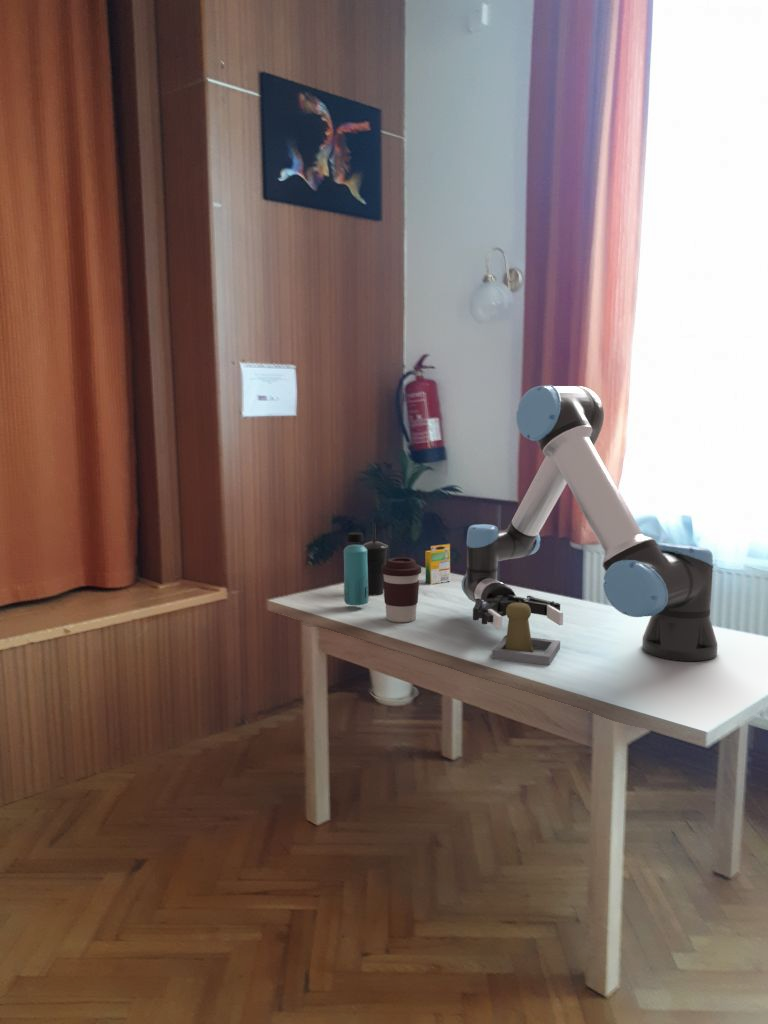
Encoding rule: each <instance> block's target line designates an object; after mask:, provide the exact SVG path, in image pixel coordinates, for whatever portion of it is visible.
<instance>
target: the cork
mask: <svg viewBox="0 0 768 1024" xmlns="http://www.w3.org/2000/svg"><path fill="white" fill-rule="evenodd" d="M506 614H507V615H506V617H507V618H508V624H507V630H506V635H507V637H506V645H505V649H506V650H515V651H523V652H532V653H534V650H533V649H534V648H532V642H531V638H532V636H531V629H530V628H531V627H530V623H529V622H530V621H529V618H530V617H531V614H532V613H531V609H530V607H529V605H527V604H525V603H511V604H509V605H508V606H507V608H506Z"/></svg>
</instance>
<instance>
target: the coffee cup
mask: <svg viewBox="0 0 768 1024" xmlns="http://www.w3.org/2000/svg"><path fill="white" fill-rule="evenodd" d="M381 573H382V574H384V580H383V587H384V590H383V597H384V598H383V599H384V604H385V614H386V620H388V621H390V622H391V623H409V622H414V621H415V619H416V618H417V607H418V606H417V604H418V602H419V591H420V590H419V587H420V579H419V575H420V574H421V573H422V566H421V565H420V564H417V562H416V560H415V559H413V558H410V557H391V558H389V559H386V564H384V565H382V566H381Z"/></svg>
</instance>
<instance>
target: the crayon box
mask: <svg viewBox="0 0 768 1024" xmlns="http://www.w3.org/2000/svg"><path fill="white" fill-rule="evenodd" d="M437 548H438V549H437ZM439 548H440V549H439ZM441 548H442V549H441ZM424 552H425V553H424V554H425V556H424V558H425V583H426V584H427V583H428V585H430V584H432V585H436V583H437V584H442V583H441V582H443V583H448V582H447V581H450V582H451V543H446V544H437V545H431V546H430V550H425V551H424Z"/></svg>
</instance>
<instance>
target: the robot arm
mask: <svg viewBox="0 0 768 1024" xmlns="http://www.w3.org/2000/svg"><path fill="white" fill-rule="evenodd" d="M517 407H518V408H517V411H516V417H515V418H516V420H515V421H516V425H517V428H518V431H519V433H520V434H521V435H522V436H523V437H524V438H526V439H528V440H530V441H533V442H536V443H537V444H538V446H539V448H540V450H541V452H542V454H543V455H544V456H545V457H544V459H543V461H542V463H541V464H540V466H539V469H538V471H537V472H536V474H535V476H534V477H533V480H532V481H531V483H530V485H529V487H528V489H527V491H526V493H525V494H524V496H523V499H522V500H521V503H520V504H519V506H518V508H517V509H516V512H515V513H514V516H513V518H512V519H511V521H510V523H509V524H508V527H507V528H506V529H502V530H499V529H498V526H496V525H494V524H487V523H486V524H485V523H482V524H472V525H469V527H468V529H467V534H466V541H465V542H466V573H465V574H464V576H463V577H462V580H461V590H462V591H463V593H464V594H465V596H466V597H467V598H468V600H470V601H471V602H474V606H473V608H472V621H478V620H479V619H481V624H482V625H487V624H488V623H489V624H491V625H492V626H493V627H495V628H496V629H497V630H503V617H505V616H506V617H507V614H506V608H507V606H508V605H509V604H511V603H525V604H527V605H529V607H530V609H531V614H534V615H542V616H545V617H546V618H547V619H548V620H550V621H552V622H553V623H555V624H556V625H558V626H563V625H564V612H563V611H561V603H559V602H555V601H553V600H552V601H550V600H545V599H542V598H537V597H534V596H533V595H526V597H521V596H517V595H516V594H515V591H514V590H513V589H512V588H511V587H510V586H509V585H506V584H505V583H503V582H501V581H499V580H498V565H499V563H498V562H501V561H506V560H512V559H520V558H525V557H528V556H531V555H533V554H535V553H537V552H538V550H539V549H540V546H541V536H540V532H541V530H542V528H543V526H544V525H545V523H546V521H547V519H548V518H549V516H550V514H551V512H552V511H553V509H554V507H555V506H556V504H557V502H558V500H559V498H560V497H561V495H562V493H563V491H564V490H565V488H566V486H567V485H568V487H569V489H570V492H571V493H572V495H573V497H574V499H575V501H576V503H577V504H578V506H579V508H580V510H581V512H582V514H583V516H584V518H585V519H586V521H587V524H588V525H589V528H591V530H592V533H593V534H594V536H595V538H596V541H597V542H598V544H599V545H600V548H601V550H602V551H603V553H604V558H603V560H602V562H601V563H602V567H603V569H604V572H605V573H604V576H603V580H604V582H603V584H602V585H603V591H604V594H605V597H606V599H607V600H608V602H609V603H610V604H611V606H612V607H613V608H614V609H615V610H616V611H618V612H620V613H621V614H623V615H626V616H628V617H631V618H632V617H633V618H643V617H650V618H649V621H648V624H647V625H646V629H645V631H644V633H643V636H642V644H641V645H642V646H641V647H642V650H643V651H644V652H646V653H648V654H650V655H652V656H655V657H658V658H662V659H668V660H671V661H672V660H673V661H683V662H701V661H709V660H712V659H714V658H716V657H717V655H718V642H717V637H716V634H715V631H714V628H713V624H712V621H711V606H712V586H713V585H712V584H713V573H714V572H713V571H714V564H713V557H714V556H713V552H712V551H711V550H710V549H709V548H705V547H701V546H694V545H688V544H687V545H686V544H678V543H668V542H667V543H666V542H658V543H657V542H656V539H655V538H653V537H650V536H647V535H645V534H644V533H643V532H642V531H641V528H640V527H639V524H638V523H637V521H636V520H635V518H634V516H633V514H632V512H631V510H630V508H629V507H628V505H627V503H626V502H625V500H624V498H623V496H622V495H621V492H620V491H619V489H618V488H617V487H618V486H617V485H616V484H615V481H614V480H613V478H612V477H611V474H610V473H609V471H608V469H607V468H606V466H605V464H604V462H603V460H602V458H601V456H600V454H599V453H598V451H597V449H596V447H595V446H594V445H595V444H596V442H597V440H598V438H599V436H600V433H601V431H602V427H603V425H604V419H605V412H604V406H603V403H602V401H601V399H600V397H599V396H598V395H597V394H596V392H594V391H593V390H591V389H589V388H587V387H585V386H582V385H581V386H580V385H571V386H570V385H568V386H566V385H562V386H561V385H556V386H555V385H552V384H544V385H538V386H534V387H532V388H530V389H529V390H527V391H526V392H525V393H524V394H523V396H522V397H521V398H520V400H519V402H518V405H517Z"/></svg>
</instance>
